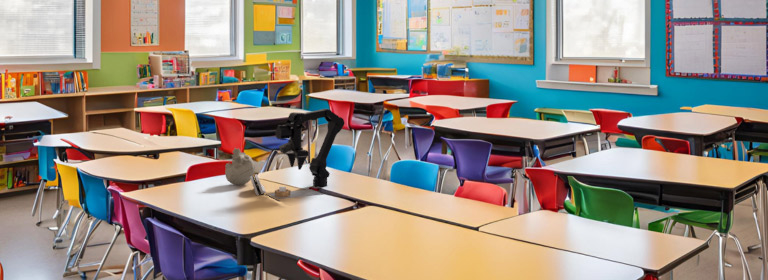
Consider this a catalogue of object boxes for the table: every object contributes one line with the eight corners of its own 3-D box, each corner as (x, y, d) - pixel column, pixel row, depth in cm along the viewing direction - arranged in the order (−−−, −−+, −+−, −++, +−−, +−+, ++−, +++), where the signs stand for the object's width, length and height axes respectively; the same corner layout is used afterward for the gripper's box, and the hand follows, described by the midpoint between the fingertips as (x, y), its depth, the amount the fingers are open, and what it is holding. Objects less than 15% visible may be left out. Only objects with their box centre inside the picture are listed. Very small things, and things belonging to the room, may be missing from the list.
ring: (286, 193, 354) (286, 188, 354) (292, 195, 348) (292, 191, 348) (273, 194, 350) (273, 189, 350) (278, 197, 344) (278, 192, 344)
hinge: (266, 195, 355) (259, 176, 353) (257, 198, 354) (250, 180, 352) (264, 188, 371) (258, 170, 369) (256, 191, 370) (249, 174, 368)
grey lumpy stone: (222, 184, 379) (221, 147, 377) (248, 181, 388) (248, 145, 385) (232, 188, 369) (232, 150, 366) (258, 185, 378) (258, 148, 375)
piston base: (311, 191, 365) (311, 181, 364) (324, 196, 353) (324, 186, 352) (267, 196, 352) (267, 185, 352) (278, 201, 341) (278, 190, 340)
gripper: (273, 136, 365) (273, 166, 367) (288, 140, 349) (288, 172, 351) (293, 135, 371) (293, 165, 373) (309, 139, 355) (309, 170, 357)
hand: (295, 168), depth 363 cm, fingers open, 9 cm apart
